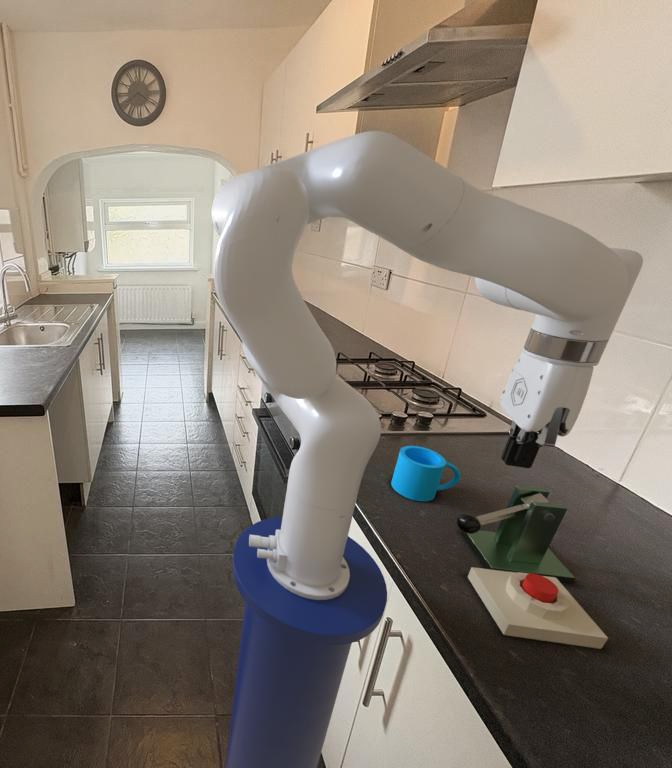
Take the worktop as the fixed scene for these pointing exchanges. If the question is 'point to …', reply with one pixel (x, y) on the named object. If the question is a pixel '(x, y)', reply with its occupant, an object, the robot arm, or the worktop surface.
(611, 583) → the worktop surface
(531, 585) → the button
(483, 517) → the lever
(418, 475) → the mug
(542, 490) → the bracket
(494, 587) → the button block
